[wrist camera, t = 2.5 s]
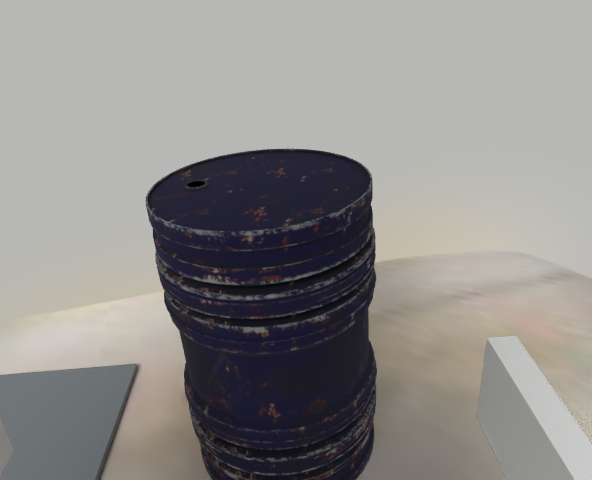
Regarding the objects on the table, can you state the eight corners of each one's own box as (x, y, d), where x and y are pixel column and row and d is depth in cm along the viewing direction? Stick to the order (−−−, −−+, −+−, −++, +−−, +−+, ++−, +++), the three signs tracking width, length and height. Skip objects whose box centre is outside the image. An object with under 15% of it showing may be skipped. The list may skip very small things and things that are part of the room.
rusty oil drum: (377, 375, 32) (376, 145, 26) (376, 521, 24) (376, 233, 17) (225, 368, 34) (186, 151, 27) (172, 504, 25) (97, 233, 18)
